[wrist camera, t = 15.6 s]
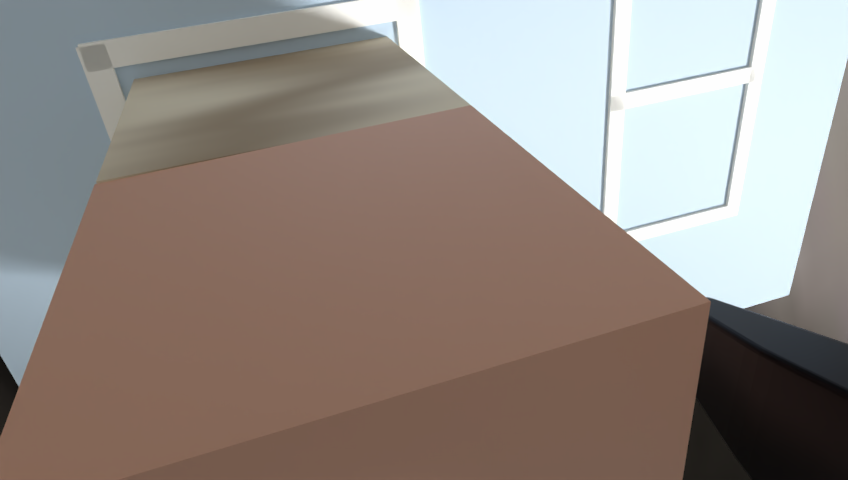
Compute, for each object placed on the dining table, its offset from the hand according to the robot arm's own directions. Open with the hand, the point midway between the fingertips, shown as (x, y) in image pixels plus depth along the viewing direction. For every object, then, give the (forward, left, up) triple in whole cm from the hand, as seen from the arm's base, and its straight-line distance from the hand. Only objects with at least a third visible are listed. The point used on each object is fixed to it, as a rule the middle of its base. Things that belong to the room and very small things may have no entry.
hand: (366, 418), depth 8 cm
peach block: (0, 0, -2) cm, 2 cm away
